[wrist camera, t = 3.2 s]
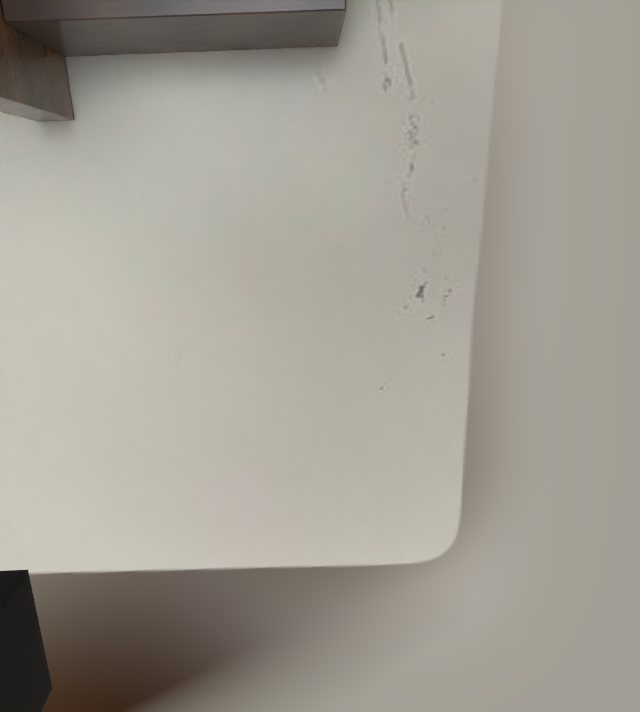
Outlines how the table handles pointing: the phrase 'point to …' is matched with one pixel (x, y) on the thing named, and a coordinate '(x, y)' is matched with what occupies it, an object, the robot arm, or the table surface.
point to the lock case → (139, 38)
